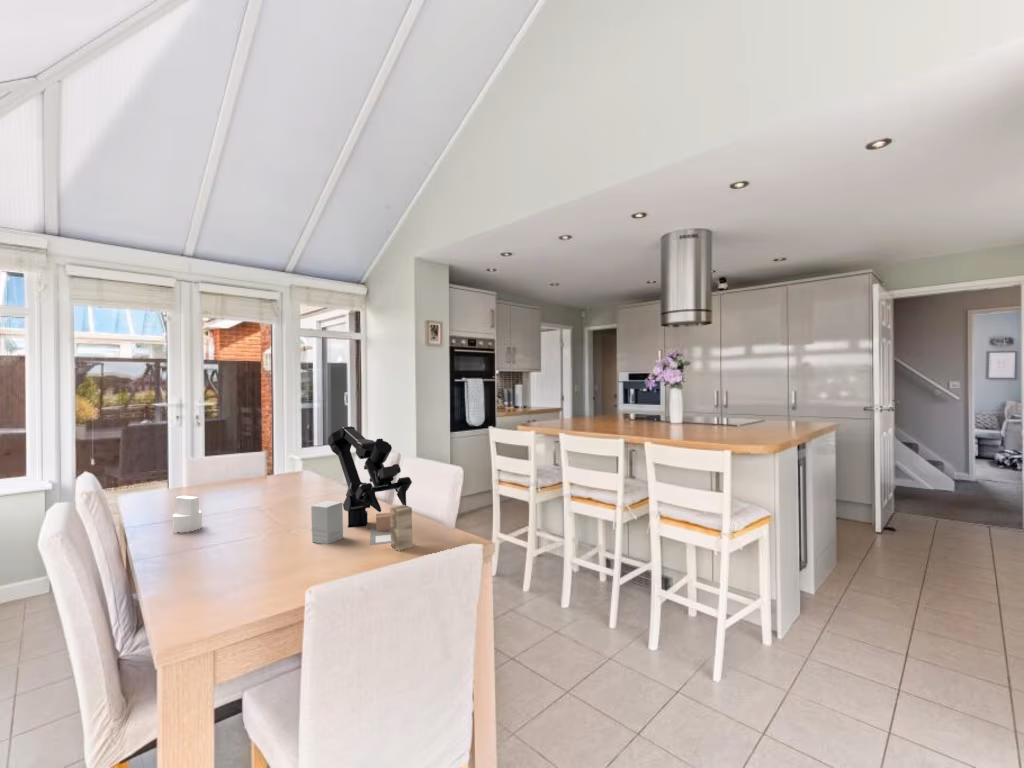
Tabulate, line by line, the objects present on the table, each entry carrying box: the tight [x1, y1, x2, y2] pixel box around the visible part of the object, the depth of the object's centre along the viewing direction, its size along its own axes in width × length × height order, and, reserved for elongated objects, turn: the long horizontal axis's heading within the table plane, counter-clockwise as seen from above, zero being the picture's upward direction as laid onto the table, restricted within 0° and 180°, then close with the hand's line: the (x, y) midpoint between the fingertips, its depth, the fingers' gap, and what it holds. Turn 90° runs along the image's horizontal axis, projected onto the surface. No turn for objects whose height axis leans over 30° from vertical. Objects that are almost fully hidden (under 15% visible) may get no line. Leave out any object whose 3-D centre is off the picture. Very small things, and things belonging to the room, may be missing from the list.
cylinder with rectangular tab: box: [172, 495, 203, 533], centre depth 179 cm, size 9×9×12 cm
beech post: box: [389, 504, 413, 552], centre depth 156 cm, size 5×5×13 cm
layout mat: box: [369, 526, 391, 546], centre depth 168 cm, size 10×20×1 cm, turn 16°
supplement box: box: [310, 500, 344, 545], centre depth 164 cm, size 7×7×13 cm
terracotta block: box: [375, 512, 391, 531], centre depth 174 cm, size 5×5×5 cm
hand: (393, 508), depth 159 cm, fingers open, 9 cm apart
